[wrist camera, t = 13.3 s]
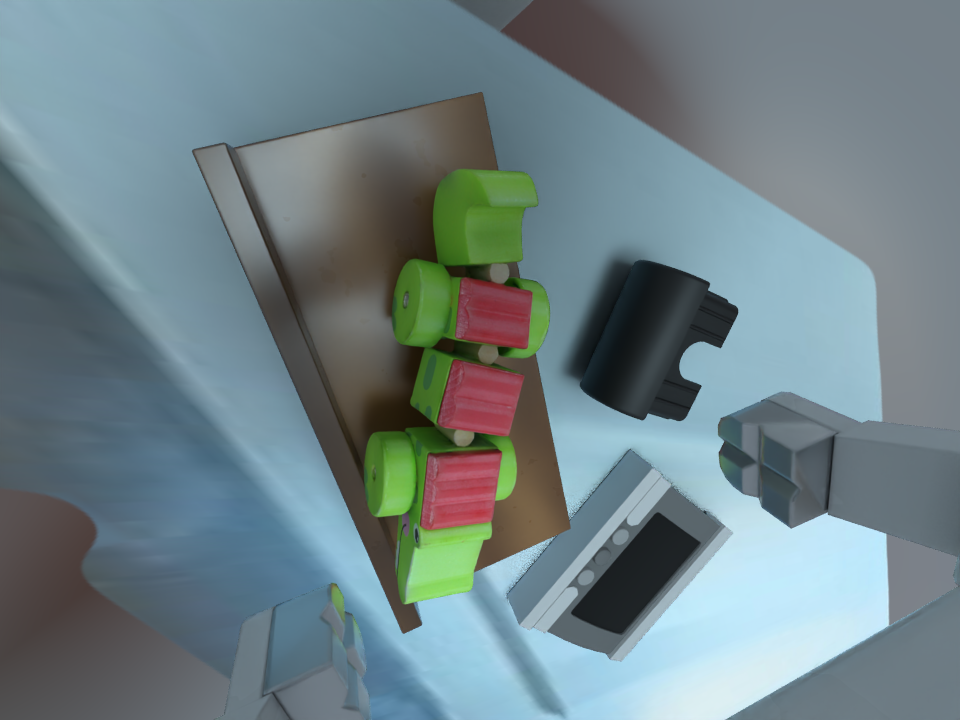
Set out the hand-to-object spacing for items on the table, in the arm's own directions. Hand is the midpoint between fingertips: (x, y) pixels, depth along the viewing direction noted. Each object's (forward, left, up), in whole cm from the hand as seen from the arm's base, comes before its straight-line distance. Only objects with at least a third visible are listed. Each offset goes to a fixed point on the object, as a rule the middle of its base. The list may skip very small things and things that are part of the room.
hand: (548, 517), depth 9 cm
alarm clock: (+4, +33, -24) cm, 41 cm away
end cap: (-10, +15, -24) cm, 30 cm away
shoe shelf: (+2, +3, -24) cm, 24 cm away
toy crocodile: (+1, +3, -15) cm, 15 cm away
